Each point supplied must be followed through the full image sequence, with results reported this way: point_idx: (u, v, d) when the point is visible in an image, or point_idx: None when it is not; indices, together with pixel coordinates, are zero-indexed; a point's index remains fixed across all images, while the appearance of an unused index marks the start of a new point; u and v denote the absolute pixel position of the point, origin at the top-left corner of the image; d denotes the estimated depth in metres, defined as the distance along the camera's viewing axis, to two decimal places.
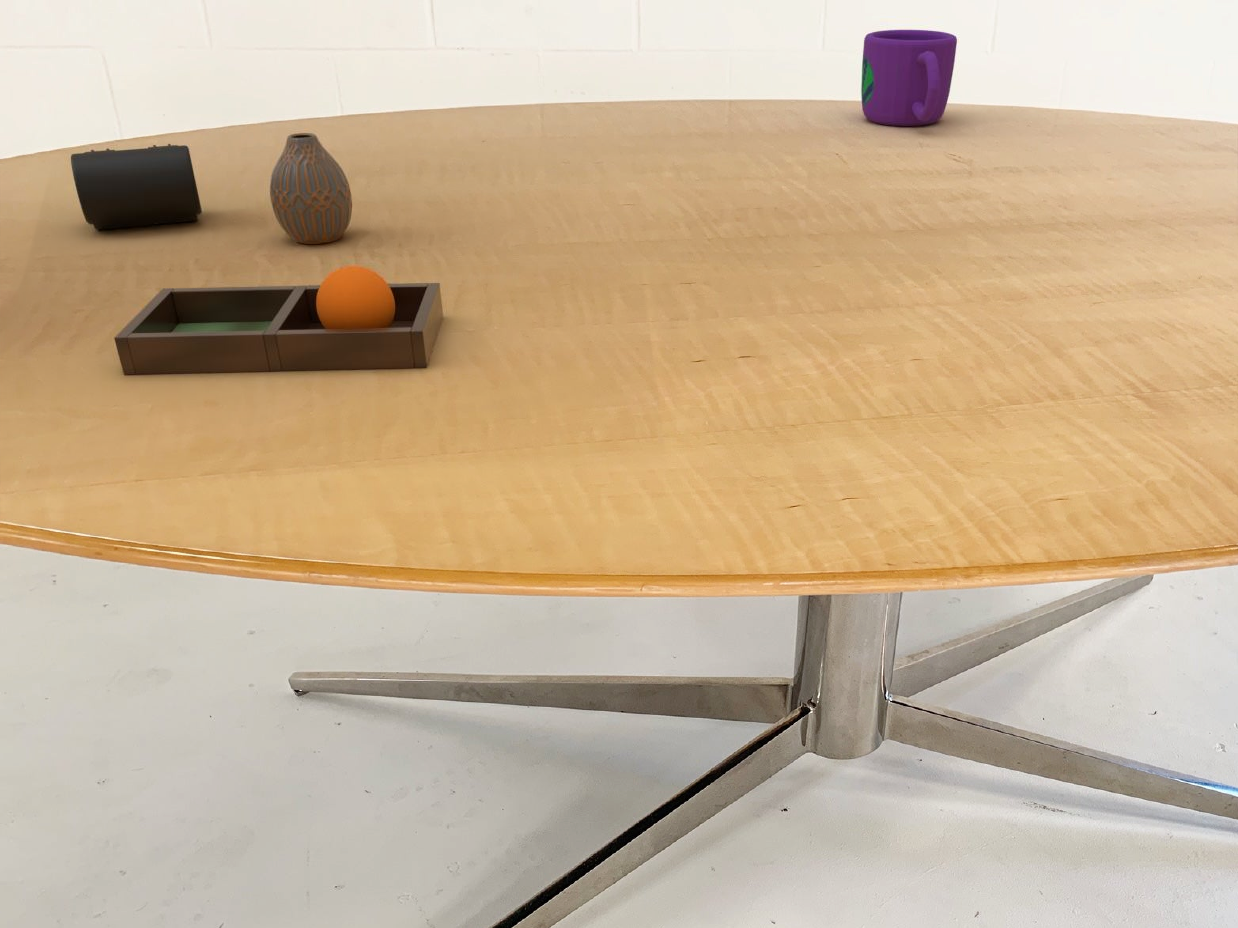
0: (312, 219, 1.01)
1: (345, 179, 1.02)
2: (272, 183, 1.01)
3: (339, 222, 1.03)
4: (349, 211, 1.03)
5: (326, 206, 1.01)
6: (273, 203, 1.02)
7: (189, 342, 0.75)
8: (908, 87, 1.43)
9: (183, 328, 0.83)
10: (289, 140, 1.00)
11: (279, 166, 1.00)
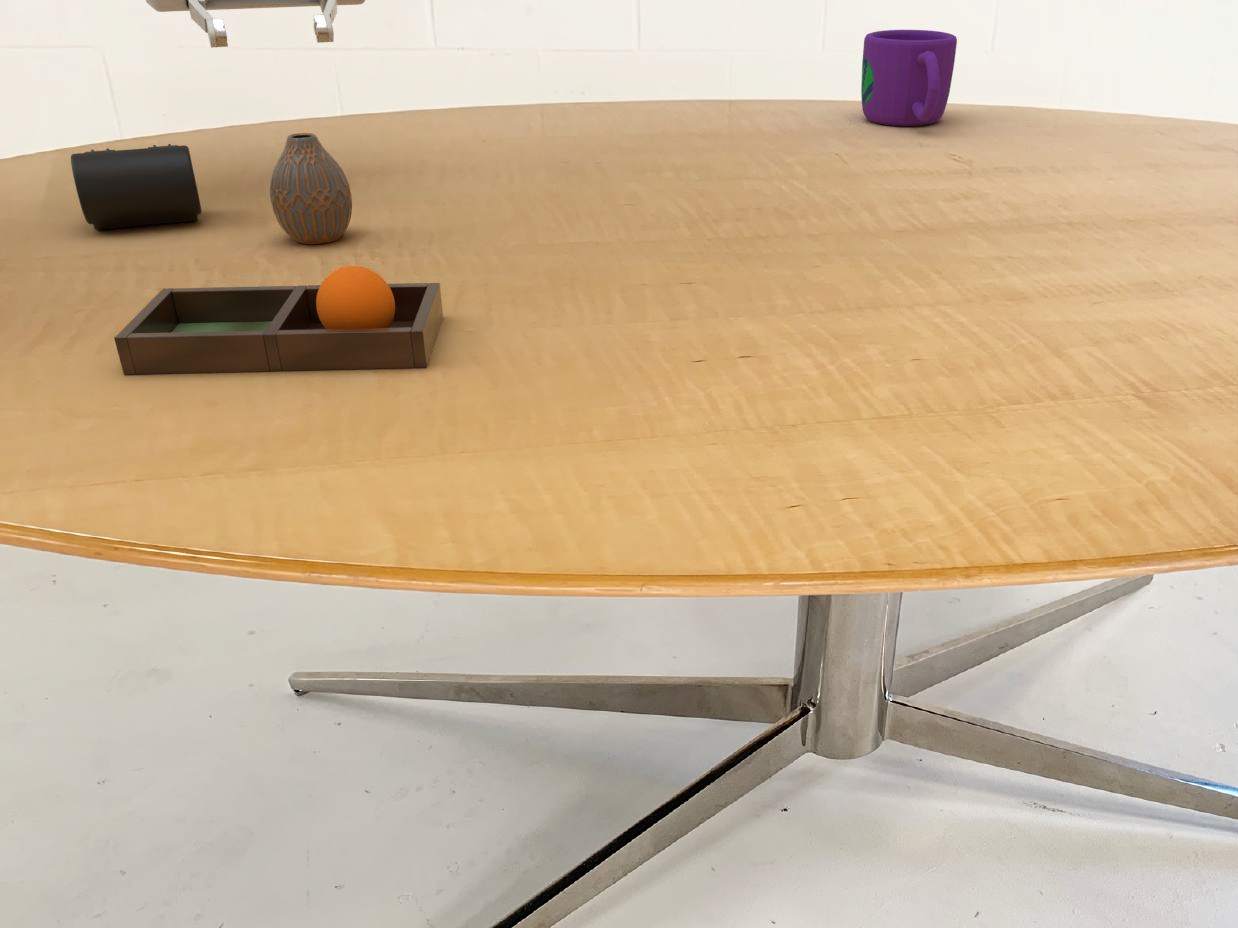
0: (312, 219, 1.01)
1: (345, 179, 1.02)
2: (272, 183, 1.01)
3: (339, 222, 1.03)
4: (349, 211, 1.03)
5: (326, 206, 1.01)
6: (273, 203, 1.02)
7: (189, 342, 0.75)
8: (908, 87, 1.43)
9: (183, 328, 0.83)
10: (289, 140, 1.00)
11: (279, 166, 1.00)
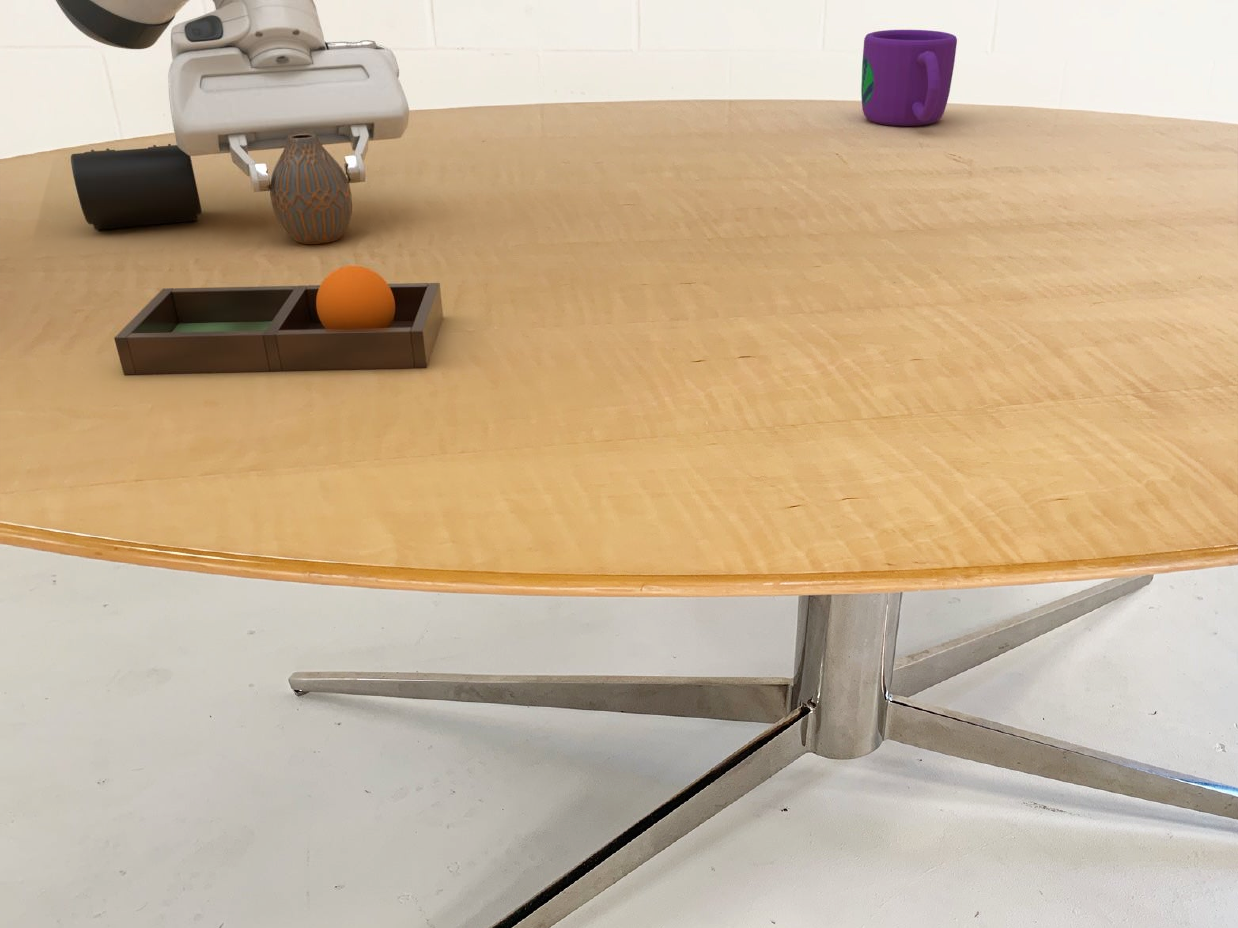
0: (312, 219, 1.01)
1: (345, 179, 1.02)
2: (272, 183, 1.01)
3: (339, 222, 1.03)
4: (349, 211, 1.03)
5: (326, 206, 1.01)
6: (273, 203, 1.02)
7: (189, 342, 0.75)
8: (908, 87, 1.43)
9: (183, 328, 0.83)
10: (289, 140, 1.00)
11: (279, 166, 1.00)
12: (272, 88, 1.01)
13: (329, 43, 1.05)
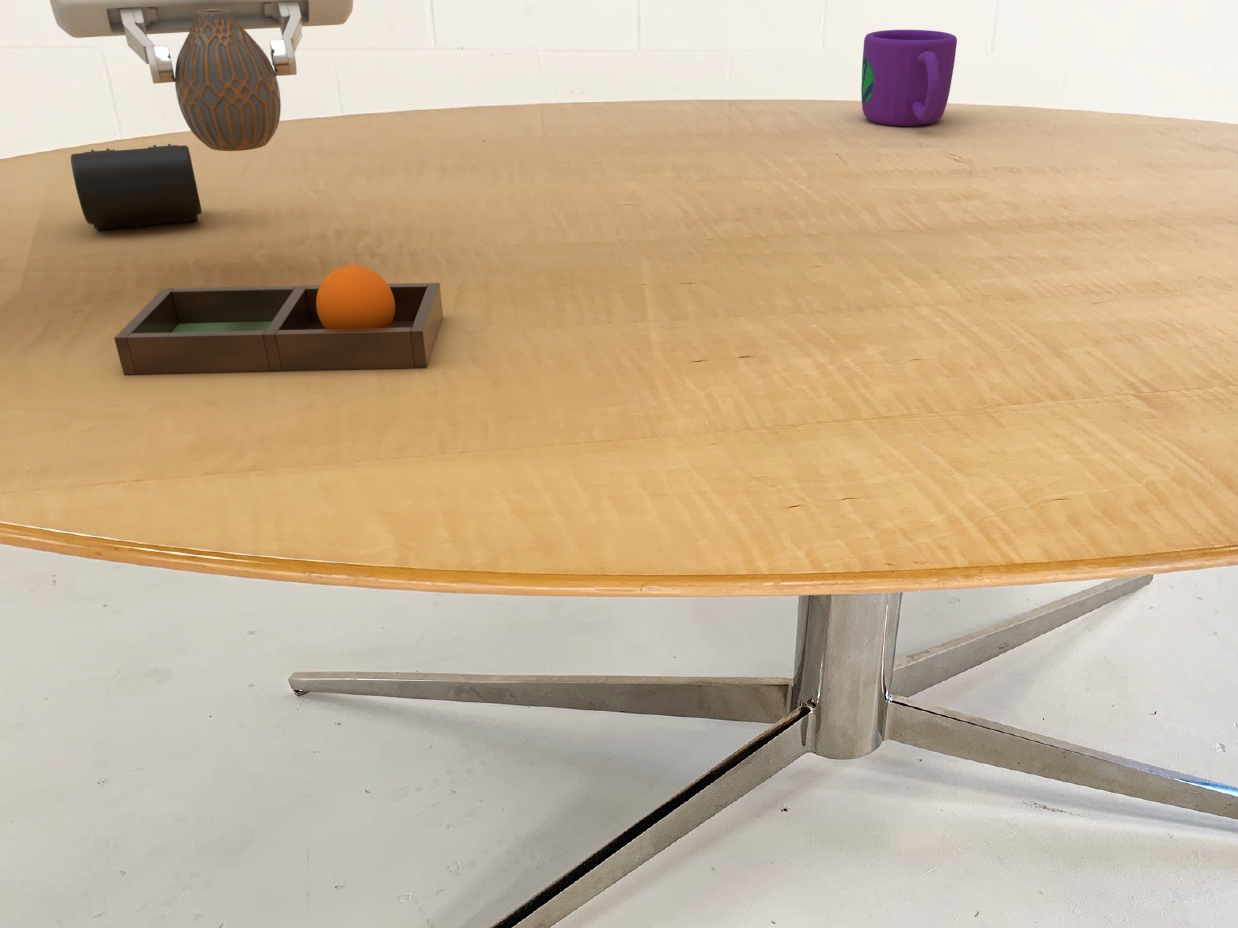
0: (227, 117, 0.80)
1: (270, 68, 0.81)
2: (176, 71, 0.80)
3: (262, 123, 0.82)
4: (276, 110, 0.82)
5: (244, 100, 0.80)
6: (178, 97, 0.80)
7: (189, 342, 0.75)
8: (908, 87, 1.43)
9: (183, 328, 0.83)
10: (196, 15, 0.79)
11: (184, 48, 0.79)
12: None
13: None
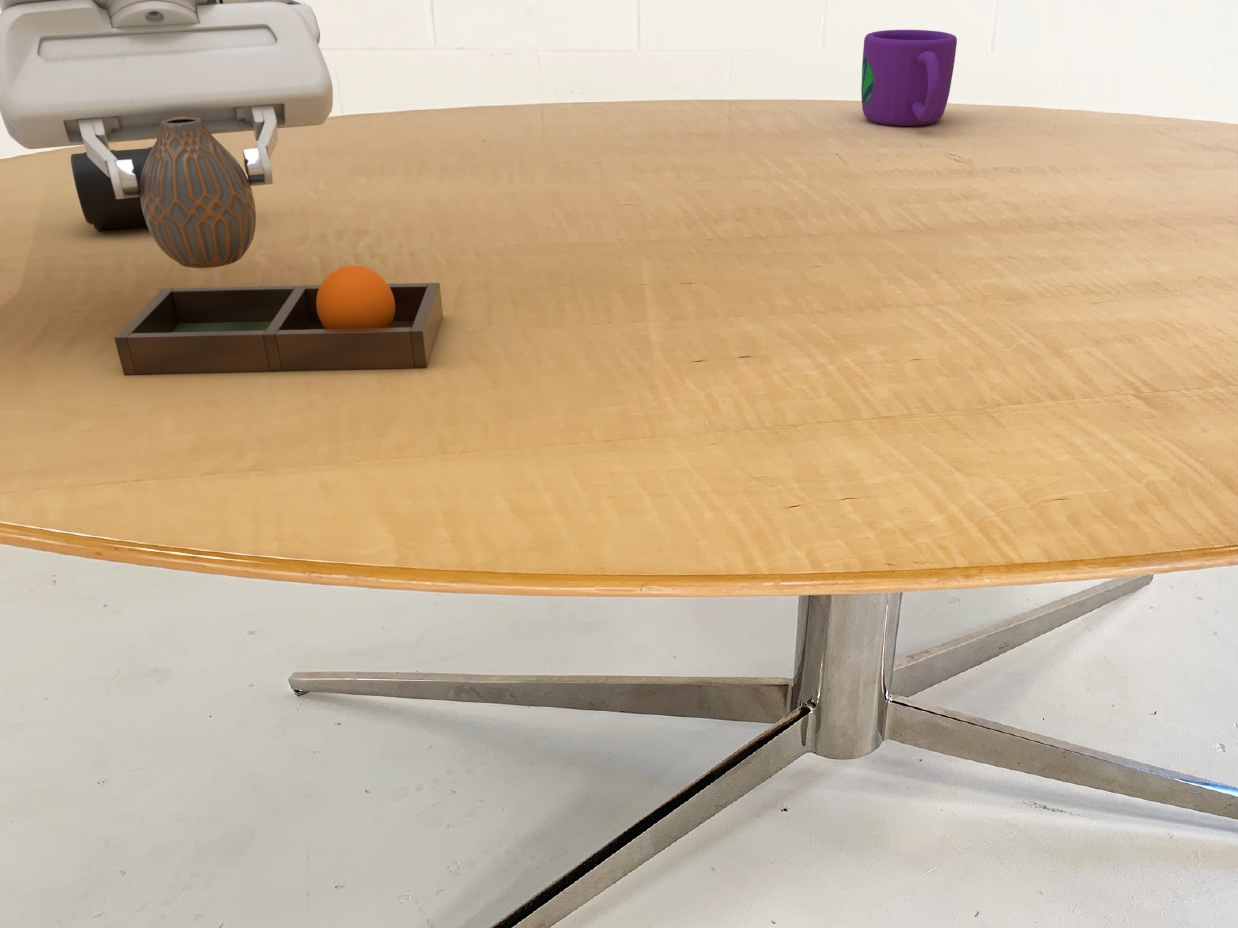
0: (198, 235, 0.74)
1: (244, 180, 0.75)
2: (142, 186, 0.73)
3: (236, 238, 0.75)
4: (251, 223, 0.76)
5: (216, 217, 0.73)
6: (144, 213, 0.74)
7: (189, 342, 0.75)
8: (908, 87, 1.43)
9: (183, 328, 0.83)
10: (162, 126, 0.72)
11: (150, 162, 0.73)
12: (141, 55, 0.74)
13: None
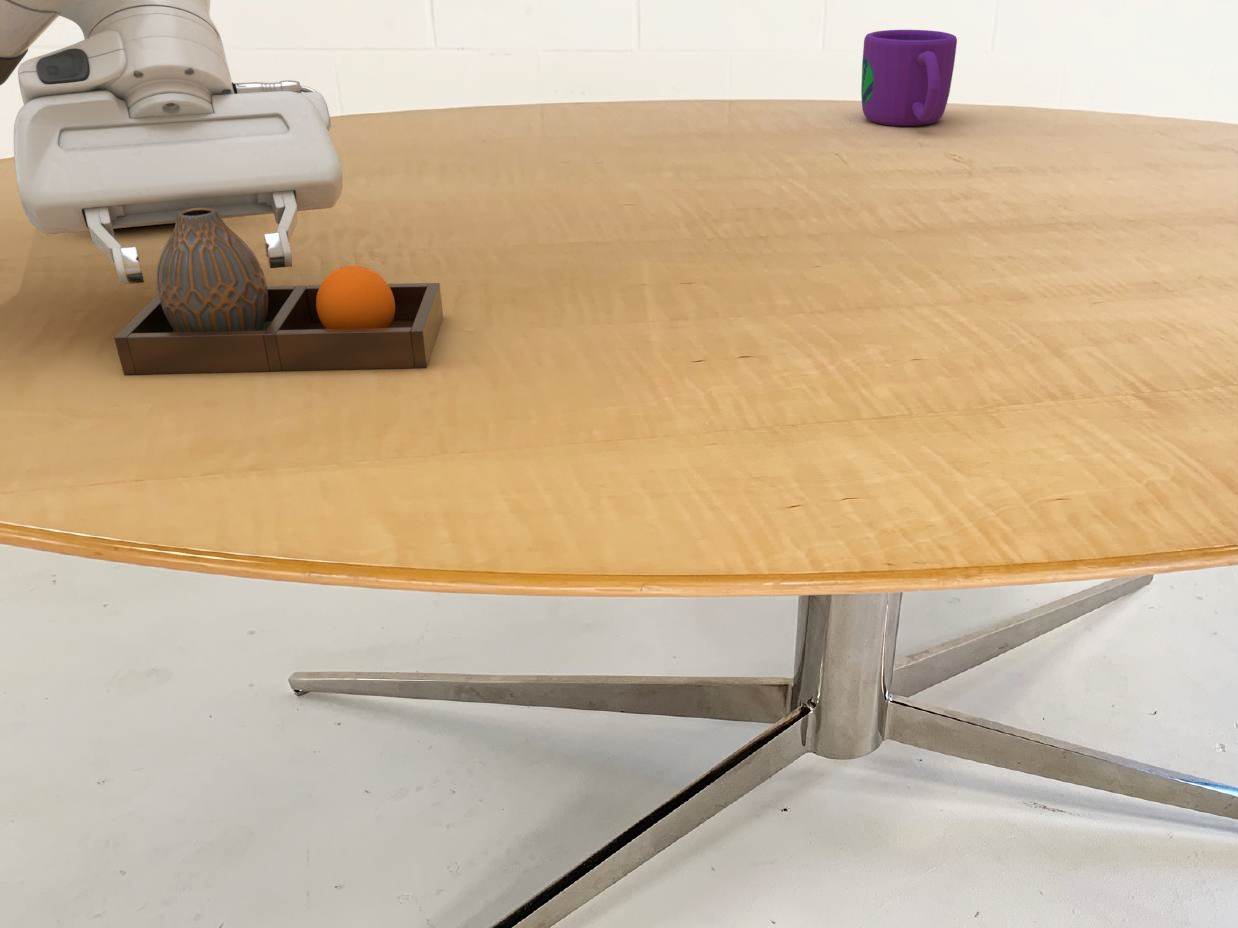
0: (213, 321, 0.76)
1: (257, 267, 0.78)
2: (159, 275, 0.76)
3: (250, 323, 0.78)
4: (264, 308, 0.79)
5: (231, 304, 0.76)
6: (161, 300, 0.77)
7: (189, 342, 0.75)
8: (908, 87, 1.43)
9: None
10: (179, 219, 0.75)
11: (167, 252, 0.75)
12: (157, 145, 0.76)
13: (238, 84, 0.80)
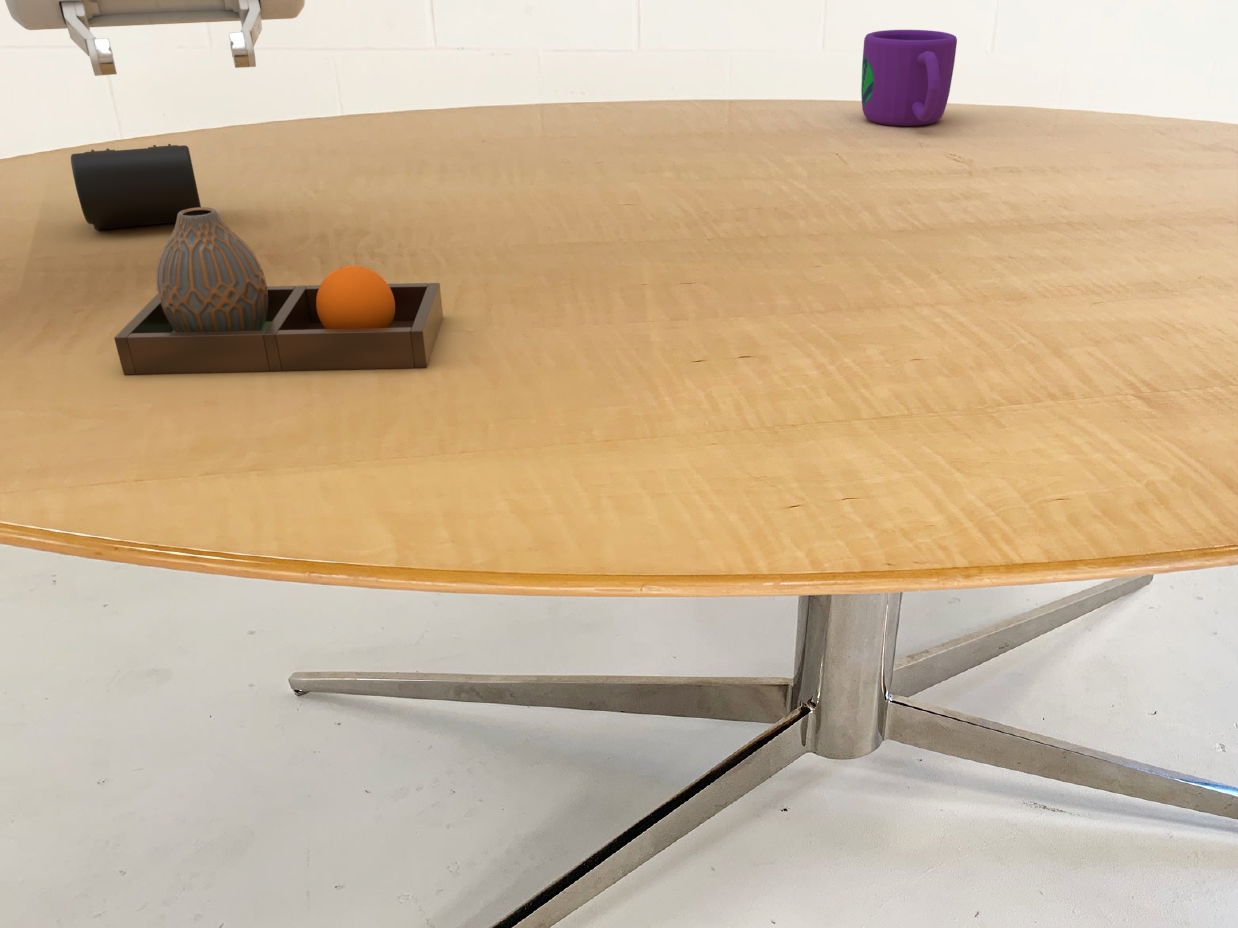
0: (213, 321, 0.76)
1: (257, 267, 0.78)
2: (159, 274, 0.76)
3: (250, 323, 0.78)
4: (264, 308, 0.79)
5: (231, 304, 0.76)
6: (161, 300, 0.77)
7: (189, 342, 0.75)
8: (908, 87, 1.43)
9: None
10: (179, 218, 0.75)
11: (167, 252, 0.75)
12: None
13: None
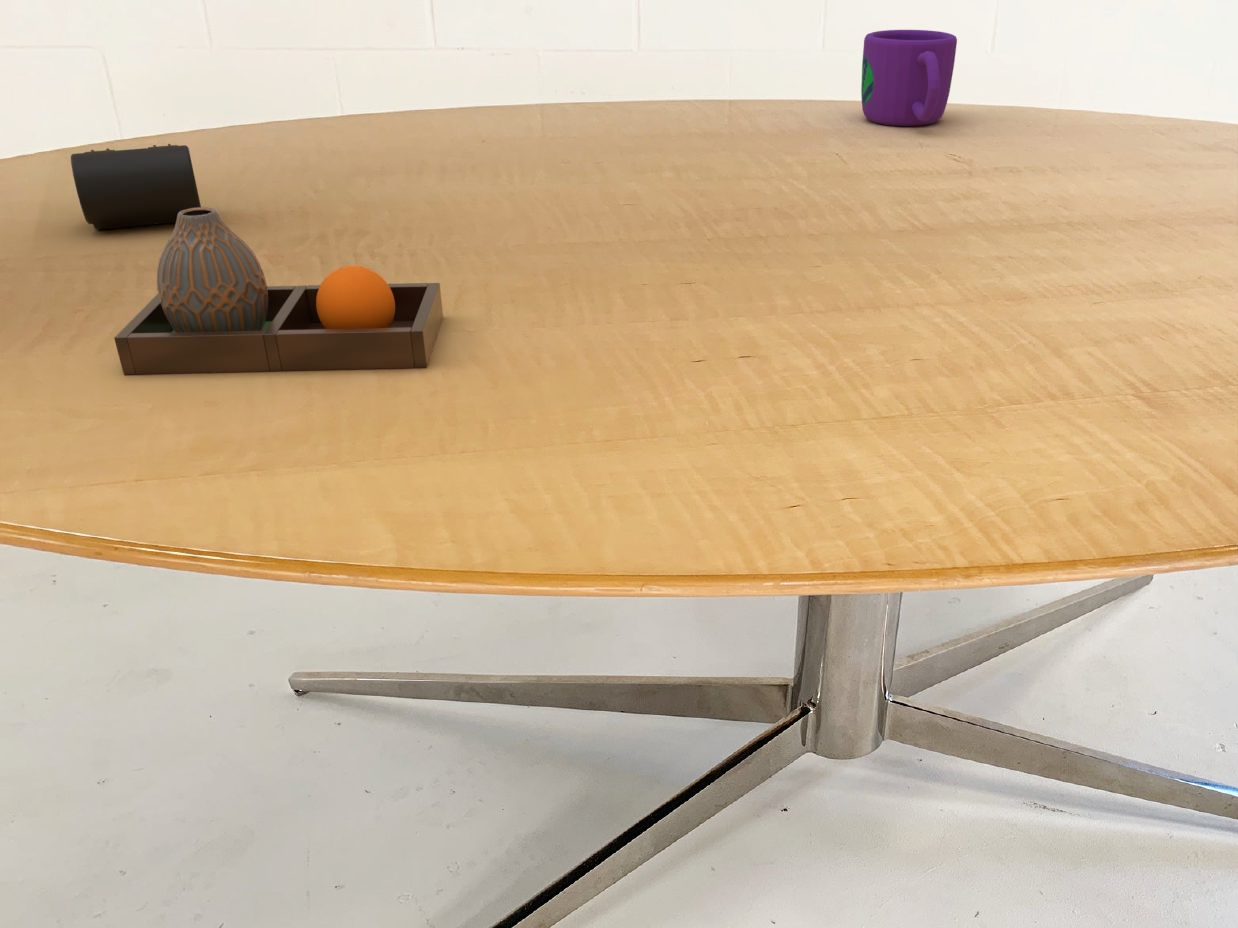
0: (213, 321, 0.76)
1: (257, 267, 0.78)
2: (159, 274, 0.76)
3: (250, 323, 0.78)
4: (264, 308, 0.79)
5: (231, 304, 0.76)
6: (161, 300, 0.77)
7: (189, 342, 0.75)
8: (908, 87, 1.43)
9: None
10: (179, 218, 0.75)
11: (167, 252, 0.75)
12: None
13: None
